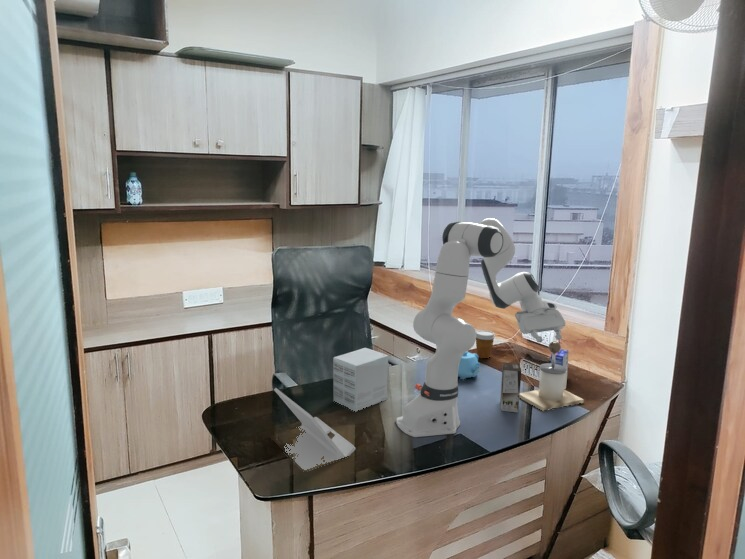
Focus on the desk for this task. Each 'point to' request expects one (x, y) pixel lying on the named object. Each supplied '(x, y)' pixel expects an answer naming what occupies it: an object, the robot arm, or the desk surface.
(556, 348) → the ball-topped rod
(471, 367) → the blue piggy bank
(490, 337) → the disposable coffee cup
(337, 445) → the tablet stand
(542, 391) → the white jar with lid
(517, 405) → the coffee box
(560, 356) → the ink cartridge box
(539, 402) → the oak board
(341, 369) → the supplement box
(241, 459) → the desk surface
